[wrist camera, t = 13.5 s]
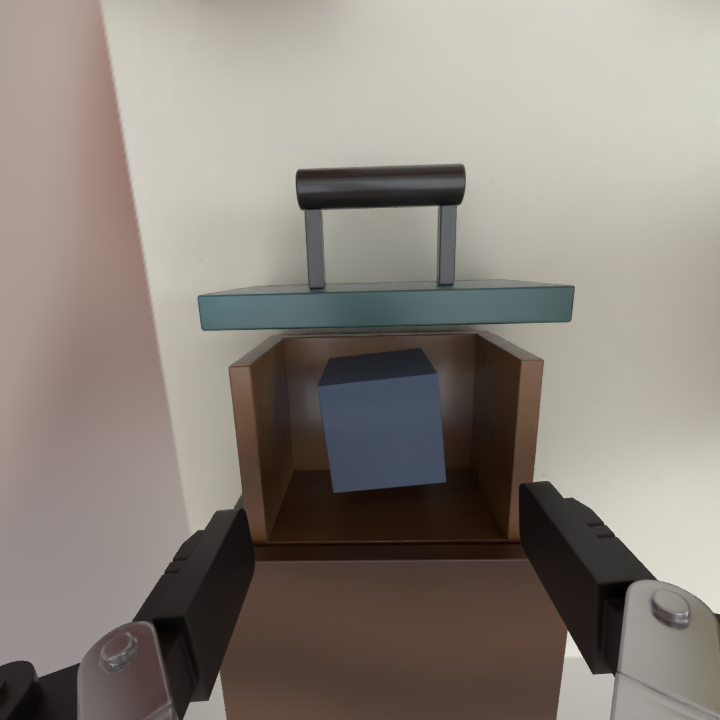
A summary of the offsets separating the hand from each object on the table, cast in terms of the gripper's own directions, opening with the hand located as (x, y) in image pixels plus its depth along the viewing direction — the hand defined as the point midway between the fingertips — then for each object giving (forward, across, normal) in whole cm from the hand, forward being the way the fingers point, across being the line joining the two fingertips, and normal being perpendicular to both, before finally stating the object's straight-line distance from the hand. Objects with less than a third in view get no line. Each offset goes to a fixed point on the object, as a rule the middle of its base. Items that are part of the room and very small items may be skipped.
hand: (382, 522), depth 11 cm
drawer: (+10, -1, -3) cm, 10 cm away
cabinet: (+11, 0, +9) cm, 14 cm away
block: (+9, 0, -1) cm, 9 cm away
